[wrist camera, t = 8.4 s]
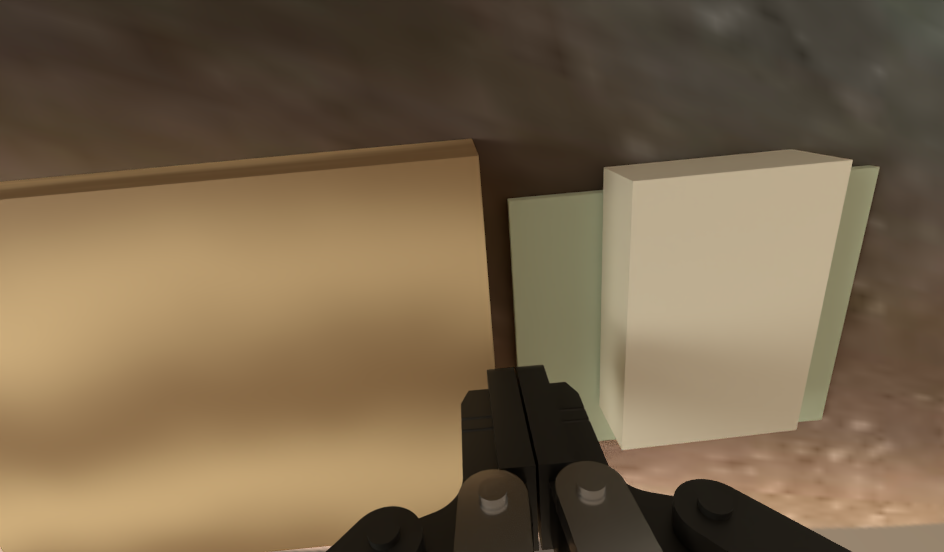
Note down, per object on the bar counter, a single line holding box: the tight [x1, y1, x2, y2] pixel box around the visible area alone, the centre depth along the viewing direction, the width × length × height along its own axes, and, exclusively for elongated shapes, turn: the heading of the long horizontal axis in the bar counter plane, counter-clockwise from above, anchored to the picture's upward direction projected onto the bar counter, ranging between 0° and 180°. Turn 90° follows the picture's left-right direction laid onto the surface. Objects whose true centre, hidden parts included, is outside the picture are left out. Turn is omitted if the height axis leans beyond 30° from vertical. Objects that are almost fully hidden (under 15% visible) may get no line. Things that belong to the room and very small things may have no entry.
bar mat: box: [507, 165, 880, 441], centre depth 17 cm, size 10×12×1 cm
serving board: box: [0, 139, 495, 552], centre depth 15 cm, size 12×16×4 cm
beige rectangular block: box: [599, 149, 853, 450], centre depth 16 cm, size 9×6×2 cm, turn 5°
